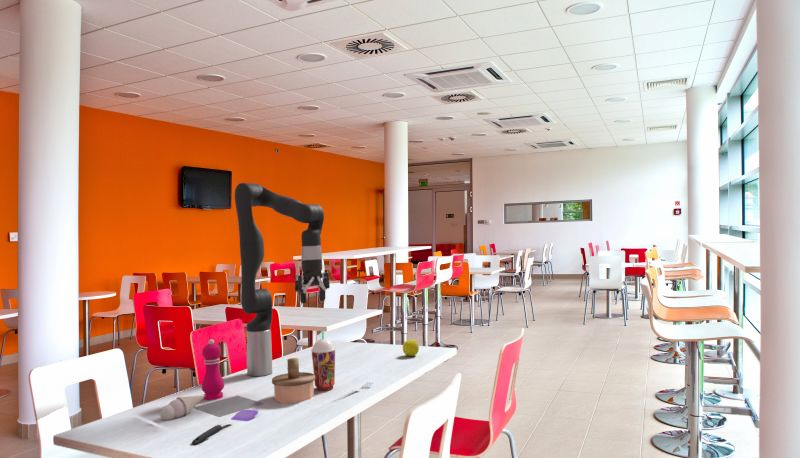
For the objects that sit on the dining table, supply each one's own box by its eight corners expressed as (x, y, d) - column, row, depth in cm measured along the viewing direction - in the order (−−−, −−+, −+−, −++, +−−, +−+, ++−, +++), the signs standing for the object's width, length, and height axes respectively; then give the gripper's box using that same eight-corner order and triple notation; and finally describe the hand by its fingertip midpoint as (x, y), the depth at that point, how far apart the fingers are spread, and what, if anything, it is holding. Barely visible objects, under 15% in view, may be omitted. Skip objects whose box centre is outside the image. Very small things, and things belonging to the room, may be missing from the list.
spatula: (202, 448, 147) (202, 438, 147) (182, 445, 150) (182, 435, 150) (260, 418, 169) (260, 410, 169) (241, 416, 172) (241, 408, 172)
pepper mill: (229, 396, 193) (226, 337, 193) (215, 402, 186) (213, 341, 187) (211, 395, 196) (209, 337, 196) (197, 401, 189) (195, 341, 189)
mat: (192, 409, 180) (192, 407, 180) (237, 397, 192) (237, 395, 192) (219, 418, 169) (219, 416, 169) (265, 405, 181) (264, 403, 181)
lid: (263, 382, 187) (262, 360, 187) (297, 373, 197) (296, 353, 197) (289, 388, 178) (288, 366, 178) (323, 378, 188) (323, 357, 188)
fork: (322, 405, 180) (321, 399, 180) (367, 386, 201) (366, 381, 201) (330, 406, 178) (329, 401, 178) (374, 387, 199) (374, 382, 199)
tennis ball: (402, 354, 249) (401, 338, 249) (417, 353, 250) (417, 337, 250) (403, 358, 242) (403, 341, 242) (420, 357, 243) (419, 340, 243)
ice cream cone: (208, 408, 180) (164, 430, 168) (198, 394, 183) (154, 415, 171) (213, 396, 177) (168, 417, 166) (202, 382, 180) (157, 402, 168)
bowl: (267, 400, 187) (266, 382, 187) (297, 391, 196) (297, 374, 196) (290, 406, 179) (289, 387, 179) (321, 397, 188) (320, 379, 188)
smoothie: (332, 392, 194) (330, 333, 194) (309, 391, 195) (307, 333, 195) (340, 385, 202) (337, 329, 202) (317, 385, 203) (315, 329, 204)
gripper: (320, 257, 218) (321, 299, 218) (289, 259, 208) (291, 303, 208) (333, 257, 213) (334, 300, 213) (302, 259, 203) (303, 305, 203)
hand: (313, 302), depth 211 cm, fingers open, 8 cm apart
